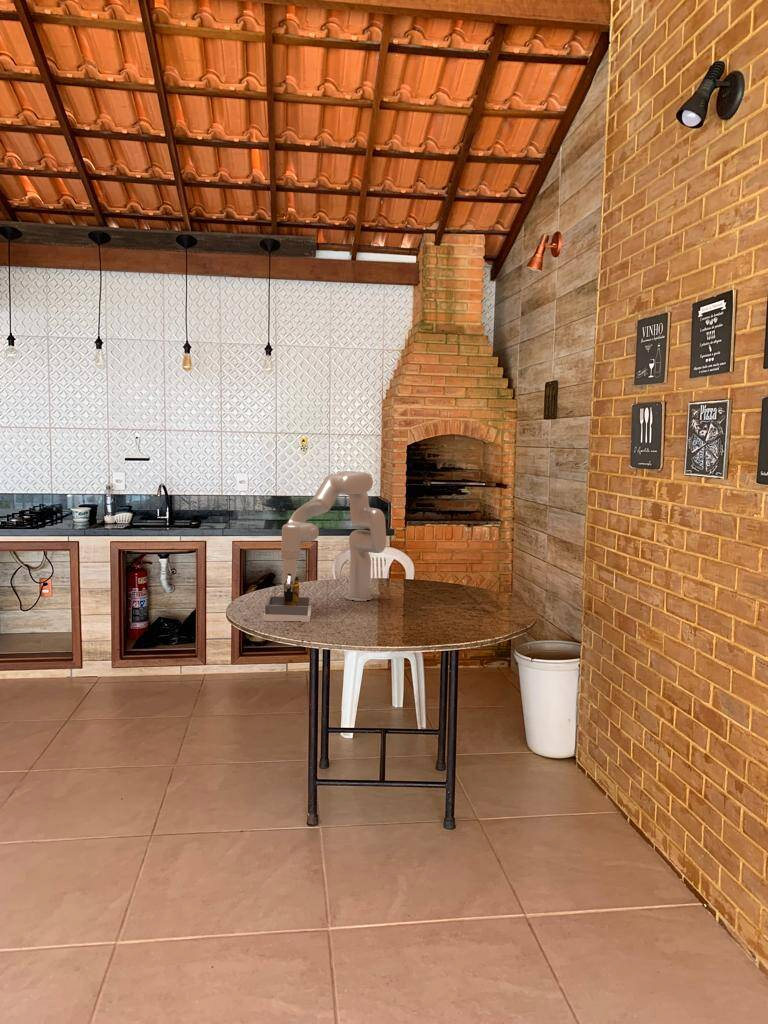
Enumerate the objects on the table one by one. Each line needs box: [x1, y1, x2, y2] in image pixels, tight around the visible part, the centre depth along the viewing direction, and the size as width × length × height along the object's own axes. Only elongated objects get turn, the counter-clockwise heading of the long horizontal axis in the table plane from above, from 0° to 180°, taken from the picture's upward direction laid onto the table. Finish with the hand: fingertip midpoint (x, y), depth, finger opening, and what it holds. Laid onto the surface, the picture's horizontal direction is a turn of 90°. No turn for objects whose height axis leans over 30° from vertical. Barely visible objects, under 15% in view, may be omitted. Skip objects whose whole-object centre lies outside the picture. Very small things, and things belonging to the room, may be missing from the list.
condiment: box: [281, 576, 300, 606], centre depth 278 cm, size 7×8×12 cm
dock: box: [262, 595, 312, 623], centre depth 279 cm, size 18×18×6 cm
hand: (289, 598), depth 279 cm, fingers closed on condiment, 6 cm apart
